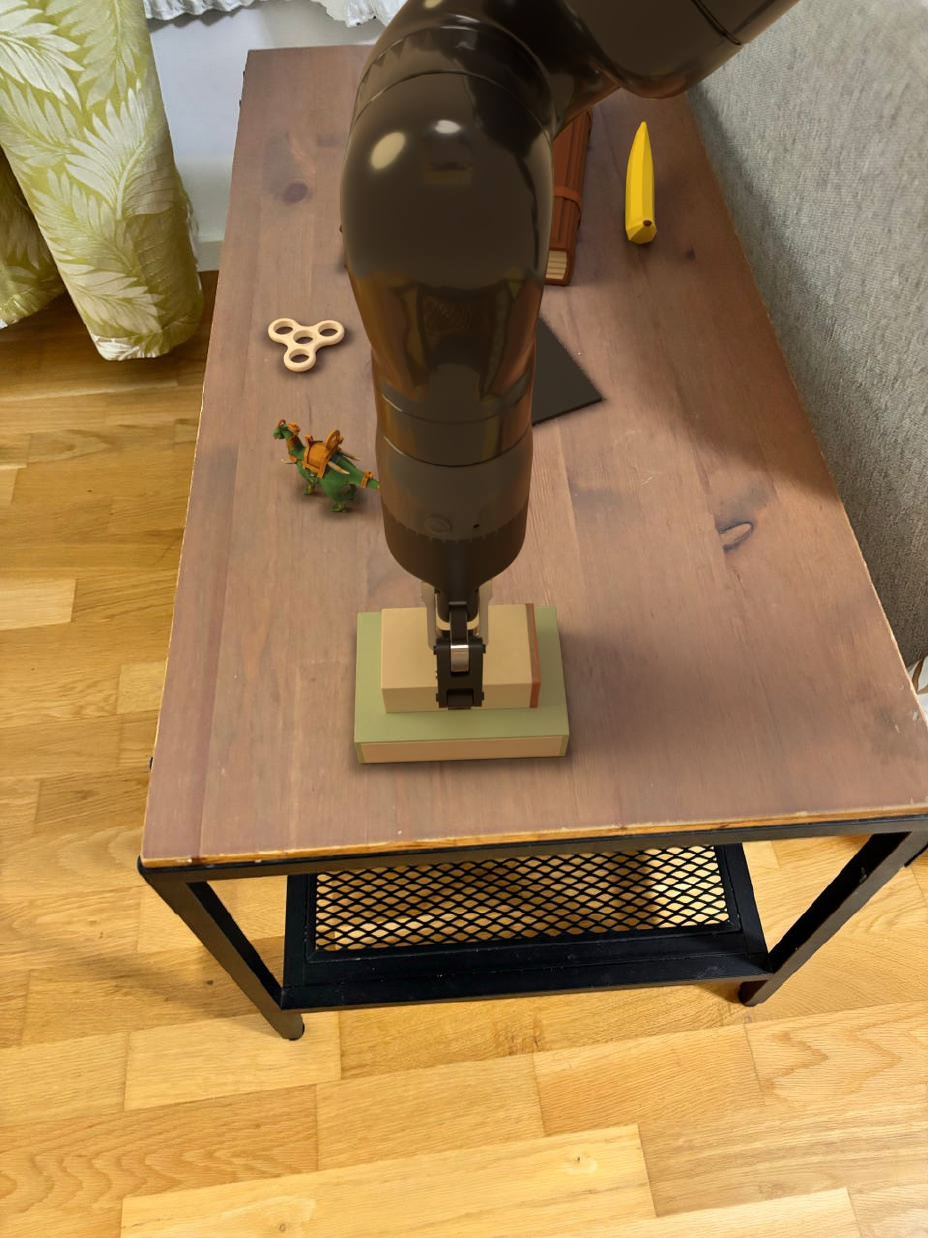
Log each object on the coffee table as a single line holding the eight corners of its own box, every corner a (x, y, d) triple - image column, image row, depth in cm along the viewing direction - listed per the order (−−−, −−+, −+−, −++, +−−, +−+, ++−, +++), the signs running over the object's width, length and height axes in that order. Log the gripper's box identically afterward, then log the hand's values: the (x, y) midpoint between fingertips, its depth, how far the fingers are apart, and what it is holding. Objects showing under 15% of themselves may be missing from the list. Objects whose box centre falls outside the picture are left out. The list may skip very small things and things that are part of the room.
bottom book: (552, 631, 68) (555, 605, 65) (565, 757, 63) (569, 735, 60) (362, 637, 68) (357, 612, 65) (359, 764, 62) (353, 743, 60)
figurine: (295, 459, 77) (277, 386, 70) (412, 520, 74) (407, 449, 67) (271, 482, 76) (251, 411, 69) (390, 546, 72) (382, 477, 65)
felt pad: (601, 400, 81) (602, 397, 80) (510, 433, 79) (510, 430, 78) (527, 304, 87) (527, 301, 87) (441, 333, 85) (441, 329, 85)
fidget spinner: (346, 325, 86) (345, 319, 85) (336, 374, 82) (335, 368, 82) (272, 322, 86) (270, 315, 85) (259, 371, 83) (257, 364, 82)
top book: (530, 630, 64) (533, 602, 61) (537, 707, 61) (540, 683, 58) (385, 635, 64) (381, 608, 61) (385, 713, 61) (380, 688, 58)
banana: (650, 166, 99) (660, 107, 94) (652, 281, 89) (664, 223, 84) (623, 165, 99) (632, 106, 94) (622, 280, 89) (632, 221, 84)
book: (342, 267, 90) (335, 222, 86) (397, 94, 107) (394, 48, 103) (573, 287, 89) (578, 241, 84) (593, 107, 105) (598, 61, 101)
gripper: (542, 593, 42) (522, 742, 55) (520, 371, 49) (508, 551, 63) (376, 598, 42) (398, 746, 55) (380, 375, 49) (398, 554, 63)
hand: (456, 642), depth 59 cm, fingers open, 8 cm apart
